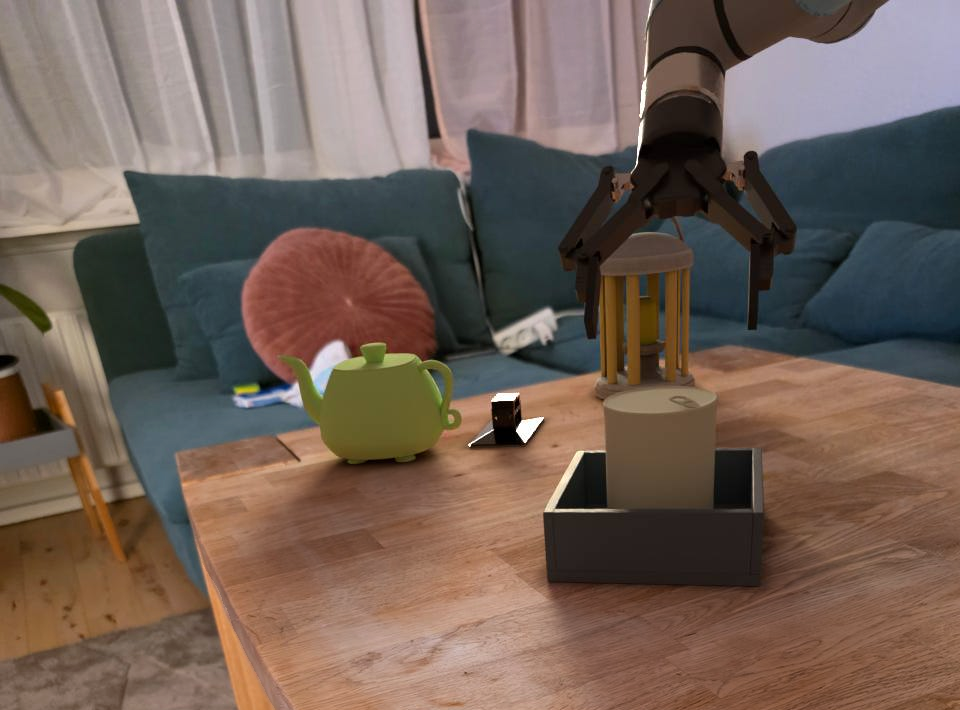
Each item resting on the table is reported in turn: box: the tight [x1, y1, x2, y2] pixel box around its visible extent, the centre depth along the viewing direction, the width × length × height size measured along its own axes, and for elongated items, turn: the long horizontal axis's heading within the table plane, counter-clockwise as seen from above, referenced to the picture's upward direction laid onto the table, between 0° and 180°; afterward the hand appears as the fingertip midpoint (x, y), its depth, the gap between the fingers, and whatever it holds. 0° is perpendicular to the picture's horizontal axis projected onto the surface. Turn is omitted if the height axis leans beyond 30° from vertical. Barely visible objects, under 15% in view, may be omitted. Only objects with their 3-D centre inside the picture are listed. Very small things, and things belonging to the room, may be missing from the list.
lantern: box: [594, 216, 696, 400], centre depth 122 cm, size 14×14×25 cm
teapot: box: [276, 342, 463, 465], centre depth 109 cm, size 22×15×13 cm
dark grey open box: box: [542, 447, 765, 587], centre depth 76 cm, size 17×17×6 cm
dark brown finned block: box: [468, 392, 545, 448], centre depth 114 cm, size 12×7×5 cm, turn 165°
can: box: [602, 386, 719, 509], centre depth 74 cm, size 9×9×12 cm
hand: (669, 325), depth 76 cm, fingers open, 13 cm apart
